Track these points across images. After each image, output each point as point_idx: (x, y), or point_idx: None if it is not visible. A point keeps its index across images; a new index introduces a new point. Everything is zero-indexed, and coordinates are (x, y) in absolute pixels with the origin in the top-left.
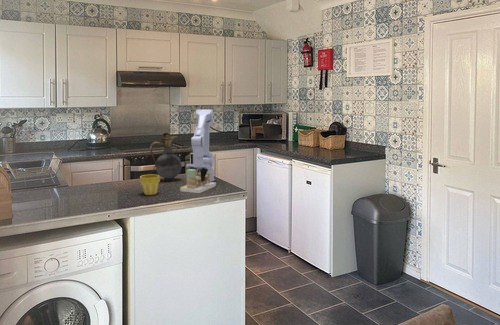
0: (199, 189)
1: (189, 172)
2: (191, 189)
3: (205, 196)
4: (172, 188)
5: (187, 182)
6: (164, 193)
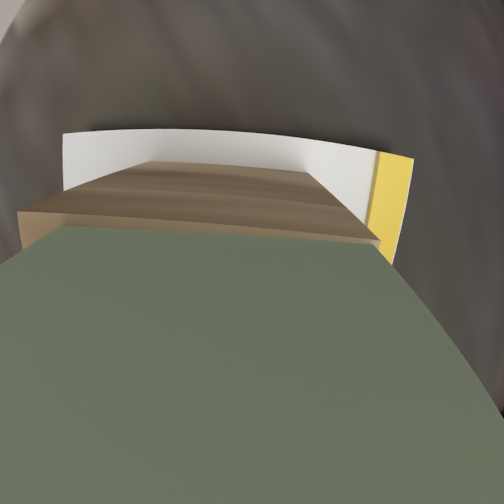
0: (64, 147)
1: (115, 471)
2: (192, 129)
3: (3, 55)
4: (493, 272)
5: (302, 191)
6: (489, 34)
